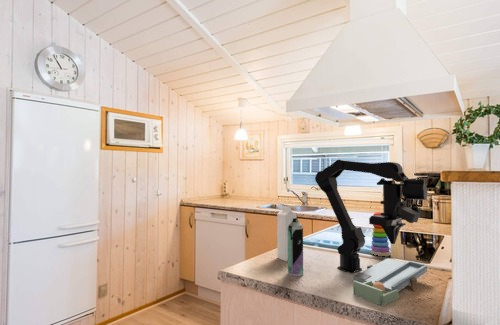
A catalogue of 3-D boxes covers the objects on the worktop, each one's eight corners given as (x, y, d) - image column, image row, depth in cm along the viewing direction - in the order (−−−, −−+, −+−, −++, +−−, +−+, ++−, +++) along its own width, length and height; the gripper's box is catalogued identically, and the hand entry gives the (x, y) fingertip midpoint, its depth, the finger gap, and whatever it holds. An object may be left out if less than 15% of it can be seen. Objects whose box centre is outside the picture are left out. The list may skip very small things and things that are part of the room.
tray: (353, 294, 90) (353, 281, 90) (370, 288, 95) (370, 275, 95) (381, 305, 82) (381, 291, 82) (398, 298, 87) (398, 284, 87)
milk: (285, 261, 123) (284, 207, 124) (277, 257, 128) (276, 206, 129) (297, 259, 126) (296, 206, 126) (288, 255, 131) (288, 205, 132)
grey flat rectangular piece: (354, 280, 100) (353, 273, 100) (387, 261, 111) (387, 255, 111) (394, 294, 89) (393, 286, 88) (427, 271, 100) (426, 264, 100)
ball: (369, 293, 90) (370, 281, 90) (376, 291, 92) (376, 279, 92) (380, 297, 87) (380, 285, 87) (387, 295, 89) (387, 283, 89)
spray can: (300, 277, 104) (299, 219, 105) (285, 274, 107) (285, 218, 108) (305, 272, 109) (304, 217, 110) (291, 270, 112) (290, 216, 113)
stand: (367, 275, 106) (367, 266, 106) (371, 274, 107) (371, 264, 107) (412, 290, 93) (412, 279, 93) (416, 288, 94) (416, 278, 94)
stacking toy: (384, 252, 137) (384, 210, 137) (393, 257, 129) (393, 213, 129) (367, 252, 137) (367, 211, 137) (375, 257, 129) (375, 213, 129)
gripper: (400, 201, 92) (401, 253, 91) (430, 198, 102) (430, 244, 102) (367, 199, 101) (368, 245, 100) (398, 196, 111) (398, 238, 111)
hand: (392, 243), depth 103 cm, fingers closed
